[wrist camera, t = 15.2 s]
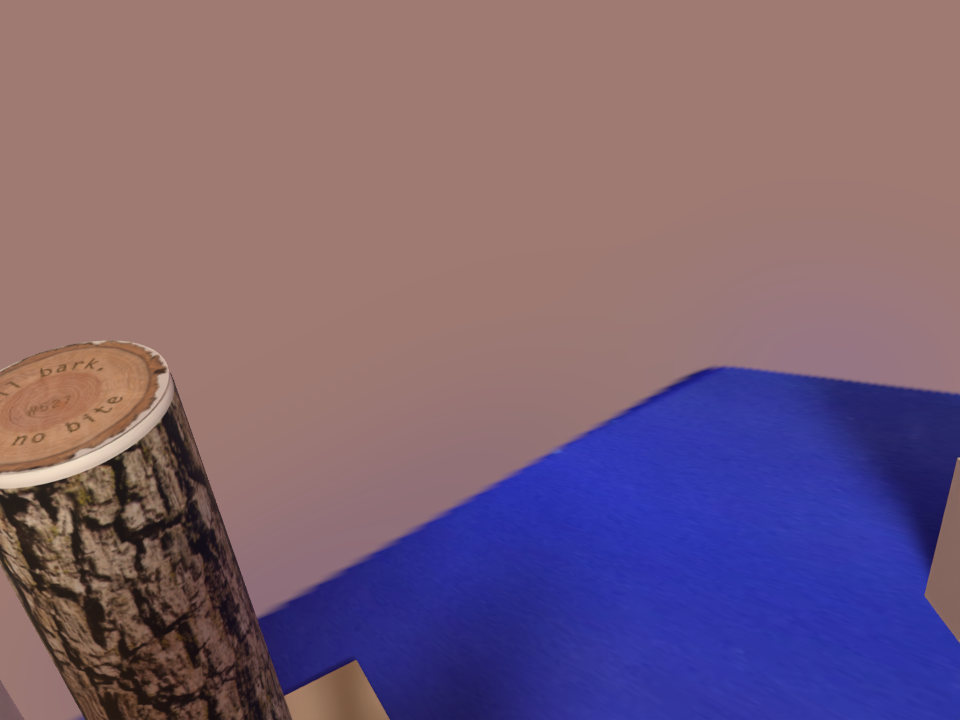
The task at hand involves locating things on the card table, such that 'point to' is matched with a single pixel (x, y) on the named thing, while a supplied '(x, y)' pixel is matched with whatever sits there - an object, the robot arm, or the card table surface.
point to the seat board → (337, 697)
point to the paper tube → (124, 542)
